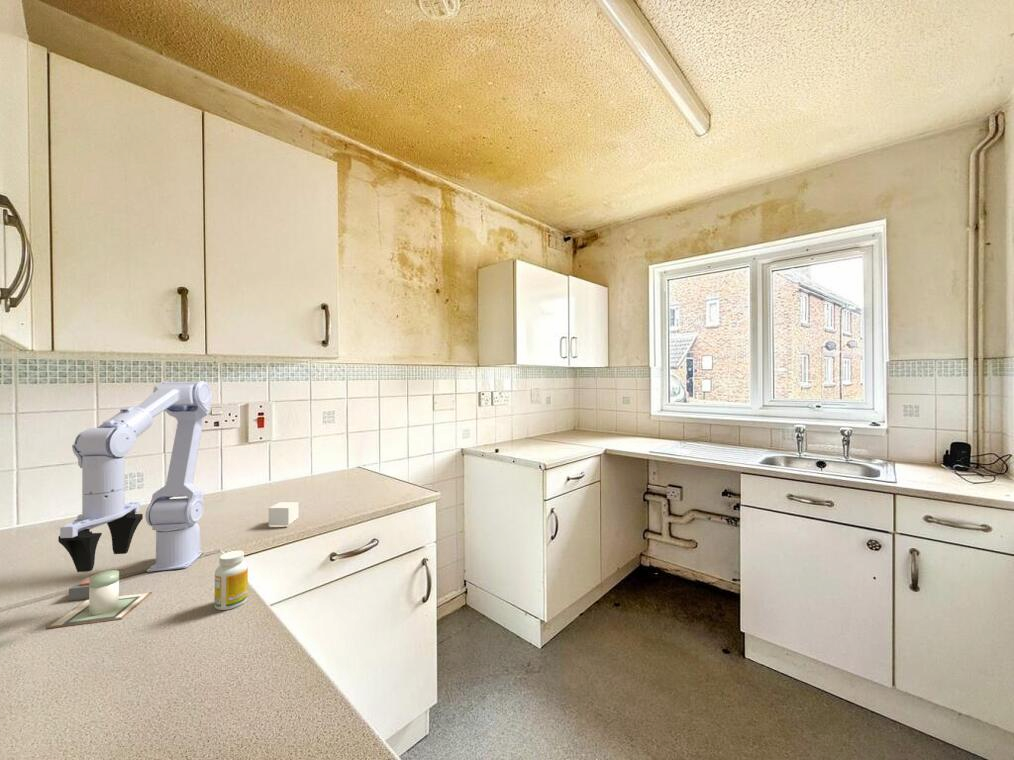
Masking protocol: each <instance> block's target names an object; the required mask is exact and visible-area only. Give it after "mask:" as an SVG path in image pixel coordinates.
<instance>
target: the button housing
mask: <svg viewBox="0 0 1014 760" xmlns="http://www.w3.org/2000/svg"><path fill="white" fill-rule="evenodd" d="M90 577H91V576H87V577H85V578H84V579H82V580H81V581H79V582H76V584H75V585H72V586H71V587H69V588H68V602H71V601H79V600H89V585H85V586H80V584H81V583H83V582H84V581H86V580H87V579H89V578H90Z"/></svg>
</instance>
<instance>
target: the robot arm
mask: <svg viewBox="0 0 1014 760" xmlns="http://www.w3.org/2000/svg"><path fill="white" fill-rule="evenodd" d="M212 398H213V393H212V390H211V387H210V386H209V384H208V382H206V381H205V380H204V381H203V380H200V381H198V380H197V381H167V380H162V381H161V382H158V384H156V385H154V387H153V392H152V394H150V395H149V396H148V397H147V398H145V400H143V401H142V402H141V403H140V404H139V405H138V406H123V407H122V408H120V409H119V412H118V413H116V414H114V415H113V416H112V417H110V418H109V419H106V420H105V421H103V422H102V424H100V425H98V426H97V427H89V428H87V429H84V430H83V431H81V432H79V434H77V436H76V437H75V440H74V442H73V443H74V444H72V446H71V449H72V452H73V454H74V456H75V457H76V458H77V461H78V462H77V465H78V467H79V468H80V469H81V470H82V471H81V472H82V473H81V475H82V476H81V477H82V478H81V486H82V487H81V489H82V490H81V492H82V493H81V496H82V497H81V499H82V503H81V505H82V507H81V509H82V512H81V514H78V515H77V517H76V519H75V520H73V521H71V522H69V523H67V524H64V525H63V526H60V528H59V529H60V530H59V531H60V532H59V533H60V534H59V536H58V540H57V542H58V543H59V544H60V545H62V547H63V548H64V549H65V550H66V552H68V554H69V556H70V557H71V559H72V562H73V564H74V567H75V569H76V572H77V573H87V572H91V571H93V569H94V566H95V559H96V550H97V546H98V543H99V541H100V539H101V536H102V534H103V533H102V532H93V531H91V530H92V529H94V528H97V527H101V526H102V525H105V524H107V526H108V529H109V533H110V536H111V543H112V544H111V547H112V551H113V554H114V555H125V554H127V553H129V549H130V546H131V542H132V540H133V537H134V534H135V532H136V530H137V528H138V526H139V525H140V523H141V521H142V520H143V517H145V521H146V523H147V525H148V526H150V527H151V530H152V531H155V563H154V564H152V565H151V566H150V567H149V568H147V569H146V572H147V573H149V572H151V573H152V572H158V571H168V570H178V569H185V568H188V567H189V566H190V565H191V564H193V563H194V562H195V561H196V560H197V559H199V557H201V556H202V555H201V553H200V554H197V553H198V552H202V550H203V551H205V549H201V527H200V525H199V524H198V523H199V521H200V520H201V518H202V516H203V514H204V510H205V505H204V504H205V503H204V492H203V490H201V489H199V488H198V487H196V485H194V476H195V472H196V465H197V460H198V454H199V449H200V441H201V437H202V433H203V426H204V421H205V420H204V419H205V417H206V416H208V415H209V413H210V409H211V405H212V404H211V403H212ZM163 411H164V412H165V413H167V414H168V416H170V417H173V418H175V419H176V421H177V424H176V430H175V435H174V439H173V445H172V452H171V454H170V455H171V456H170V459H169V466H168V472H167V475H166V483H165V485H164V486H163V487H161V488H160V489H158V490H157V491H155V492H154V493H152V497H151V500H150V503H149V505H148V506H147V508H146V510H145V516H144V514H143V513H139V512H141V502H140V501H139V502H137V501H136V502H134V501H133V502H128V503H125V456H126V455H128V454H130V452H131V451H132V449H133V446H134V443H135V442H136V441H137V439H138V437H139V436H141V435H142V434H143V433H144V432H146V431H147V430H148V429H150V428H151V426H152V425H153V418H155V417H156V416H157V415H159V414H161V413H162V412H163ZM175 497H178V498H175ZM180 497H183V498H180ZM184 497H185V498H184ZM200 555H201V556H200Z"/></svg>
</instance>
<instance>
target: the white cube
mask: <svg viewBox="0 0 1014 760" xmlns="http://www.w3.org/2000/svg"><path fill="white" fill-rule="evenodd" d="M299 505H300V503H299V502H297V501H296V502H295V501H289V502H288V501H287V502H286V501H285V502H284V501H283V502H282V501H280V502H278V503H275V504H274V505H271V506H269V507H268V526H269V525H289V524H290V523H292V522H293V521H294V520H296V519H297V518H300V517H299V514H300V513H299V510H300V509H299Z"/></svg>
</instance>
